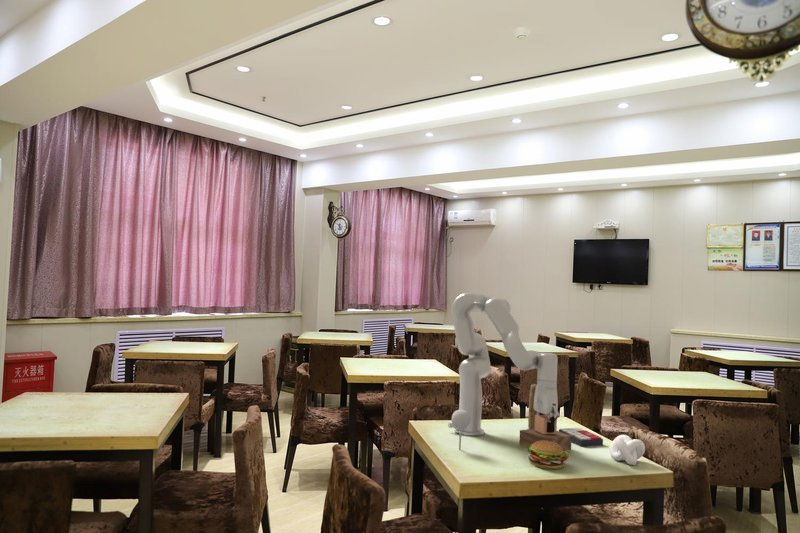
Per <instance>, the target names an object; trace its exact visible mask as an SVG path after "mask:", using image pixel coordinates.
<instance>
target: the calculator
mask: <svg viewBox="0 0 800 533" xmlns="http://www.w3.org/2000/svg"><path fill="white" fill-rule="evenodd" d="M558 432H561V433H565V434H568V435H571V436H572V438H571V444H573V445H576V446H579V447H581V448H585V447H587V448H588V447H601V446H604V439H603V438H602V437H601V436H600V435H596V434H595V433H592V432H591V431H588V430H585V429H583V428H580V427H569V428H568V427H567V428H566V427H565V428H559V429H558Z"/></svg>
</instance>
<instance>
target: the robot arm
mask: <svg viewBox="0 0 800 533" xmlns="http://www.w3.org/2000/svg"><path fill="white" fill-rule="evenodd" d="M450 309H451V310H450V311H451V317H452V323H453V327H454V328H453V329H454V333H455V334H454V335H455V338H456V339H455V340H456V344H457V345H456V346H457V349H458V351H459V353H460V354H461V355H464V356H468V358H465V359H464V360H463V361H461V362H460V364H459V366H458V367H459V368H458V376H459V403H458V404H459V407H458V410H465V411H466V412H468V414H469V415H470V424H469V425H468V427H466V428H464V429H461V435H463V436H473V437H475V436H482V435H484V434H485V430H484V428H482V425H481V424H482V408H483V407H482V402H483V387H482V380H481V379H483V378H486V377H488V375H489V374H490V373H491V370H492V369H491V361H490V356H489V354H490V353H489V349H488V346H487V345H488V344H487V341H486V339H485V338H484V336H483V335H481V334H480V333H477V332H476V331H475V326H474V322H473V319H472V317H471V313H480V314H485V315H487V317H488V319H489V320H490V321H491V322H492V324H493V326H494V328H495V329H496V331H497V332H498V334H499V335H500V337H501V341H502V344H503V347H504V350H505V352H506V353H507V355H508V356H509V358H510V360H511V361H512V363H513V365H514V366H515V367H516V368H518V369H519V370H520V371H530V370H534V369H537V374H536V375H537V376H536V378H537V379H536V384H537V386H536V390H535V396H534V410H535V413H536V415H544V414H545V415H547V418H548V422H547V432H548V433H553V432H554V428H555V422H556V420H557V421H558V418H559V417H560V413H559V410H558V408H559V407H558V406H559V404H558V403H559V402H558V401H559V400H558V389H557V388H558V387H557V386H558V361H559V360H558V355H557V354H555V353H552V352H540V351H537V350H532V349H531V350H527V348H526V347H525V346H524V344H523V343H522V341H521V339H520V337H519V331H520V328H519V326H520V325H519V324H518V323H517V321H516V319H515V318H514V317H513V315H512V314H511V310H512V309H511V305H510V302H508V300H506V299H505V298H502V297H498V296H497V297H496V296H492V295H488V294H484V293H478V292H463V293H461V294H460V295H458V296H457V297H456V298H455V299H454V301H453V302H452V305H451V308H450ZM550 416H552V417H551V418H550ZM447 427H448V428H449V429H452V428H453V429H454V431H455V433H456V434H459V433H460V429H458V428H456V427H455V426H454V425H453V423H452V422H449V423H448V424H447Z"/></svg>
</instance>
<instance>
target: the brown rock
mask: <svg viewBox="0 0 800 533" xmlns="http://www.w3.org/2000/svg"><path fill="white" fill-rule="evenodd" d="M536 386H537V383H532V384H530V388H529V398H528V416H527V417H528V418H527V419H528V421H527V422H528V424H527V425H528V429H534V428H535V415H536V413H535V410H534V396H535V390H536ZM544 415H545V414H544Z"/></svg>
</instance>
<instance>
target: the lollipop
mask: <svg viewBox="0 0 800 533" xmlns="http://www.w3.org/2000/svg"><path fill="white" fill-rule="evenodd" d="M451 423H453V425H454V426H455V427H456V428H458V429H460V433H458V434H459V436H458V439H459V440H458V450H459V451H461V448H462V445H461V444H462V434H461V429H464V428H466V427H468V425H469V424H470V415H469V414H468V412H466V411H465V410H459V409H457V410H455V411H454V412H453V413H452V414H451Z"/></svg>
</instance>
